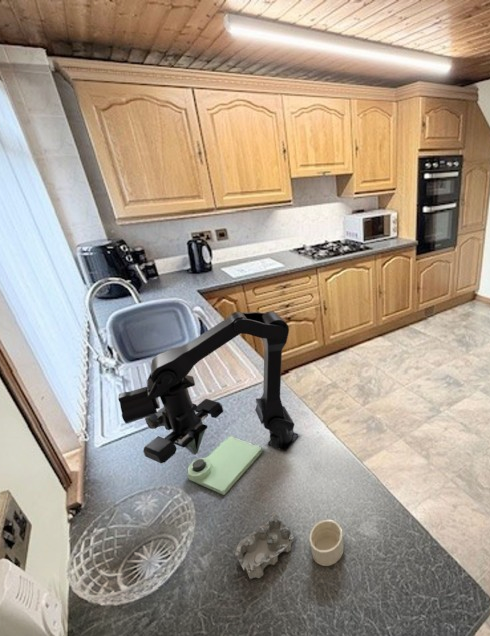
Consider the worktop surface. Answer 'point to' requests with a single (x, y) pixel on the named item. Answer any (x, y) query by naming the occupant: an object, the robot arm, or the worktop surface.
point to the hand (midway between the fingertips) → (195, 453)
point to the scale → (225, 464)
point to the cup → (326, 542)
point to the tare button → (198, 465)
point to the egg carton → (264, 546)
